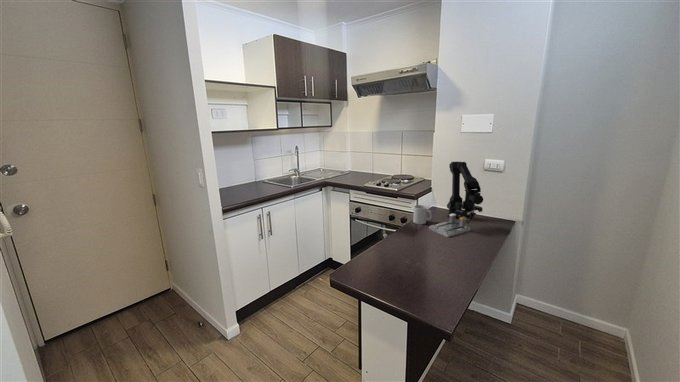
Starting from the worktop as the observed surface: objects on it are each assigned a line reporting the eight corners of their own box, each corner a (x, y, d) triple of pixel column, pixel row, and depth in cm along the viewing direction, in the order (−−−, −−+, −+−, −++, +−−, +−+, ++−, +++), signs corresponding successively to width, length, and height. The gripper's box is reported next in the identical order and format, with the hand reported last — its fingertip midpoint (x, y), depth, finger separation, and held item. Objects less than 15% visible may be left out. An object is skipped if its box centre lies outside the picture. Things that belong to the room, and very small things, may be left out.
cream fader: (452, 221, 184) (453, 213, 182) (455, 222, 182) (456, 214, 180) (448, 222, 182) (449, 214, 181) (451, 223, 180) (452, 215, 179)
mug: (411, 223, 189) (412, 207, 186) (414, 219, 196) (415, 204, 193) (429, 225, 183) (430, 210, 181) (432, 221, 190) (433, 206, 188)
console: (450, 223, 187) (451, 218, 186) (470, 230, 174) (470, 225, 173) (428, 229, 178) (429, 224, 177) (447, 237, 165) (447, 232, 164)
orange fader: (462, 224, 177) (463, 216, 176) (465, 226, 175) (466, 217, 173) (458, 225, 175) (459, 217, 174) (462, 227, 173) (462, 218, 172)
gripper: (468, 195, 184) (466, 217, 188) (449, 199, 176) (447, 222, 180) (484, 198, 175) (481, 222, 179) (464, 203, 166) (461, 227, 170)
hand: (467, 223), depth 177 cm, fingers closed
